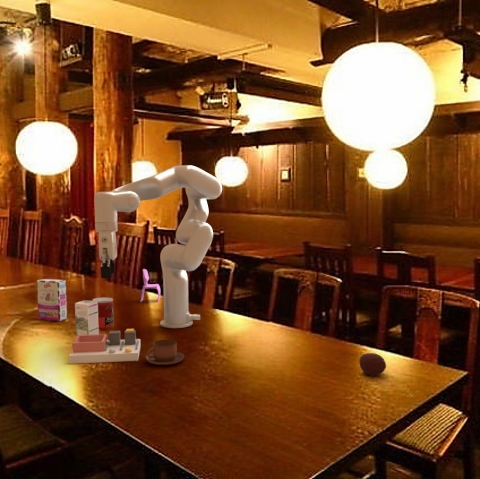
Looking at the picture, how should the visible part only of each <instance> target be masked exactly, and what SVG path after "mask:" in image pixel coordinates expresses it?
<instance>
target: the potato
mask: <svg viewBox="0 0 480 479" xmlns="http://www.w3.org/2000/svg"><path fill="white" fill-rule="evenodd" d="M358 361H359V366H360V369H361V370H362V372H363V373H365V374H366V375H369V376H377V375H378V376H379V375H381V374H383V373H384V371H385V370H386V368H387V364H386V360H385V359H384V357H382V355H381V354H380V355H379V354H378V353H374V352H368V353H363V354H362V355H361V356H360V357H359V360H358Z"/></svg>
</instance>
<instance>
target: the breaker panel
mask: <svg viewBox="0 0 480 479" xmlns="http://www.w3.org/2000/svg"><path fill="white" fill-rule="evenodd" d="M140 352H141V339H140V338H136V343H135V344H130V345H125V339H121V343H120V345H109V339H108V334H107V333H106V334H105V333H104V334H103V333H99V334H98V335H77V337H75V338H74V340H73V342H72V350H71V351H70V354H69V355H68V362H69V363H68V364H91V363H113V362H114V363H115V362H116V363H117V362H139V356H140Z"/></svg>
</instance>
